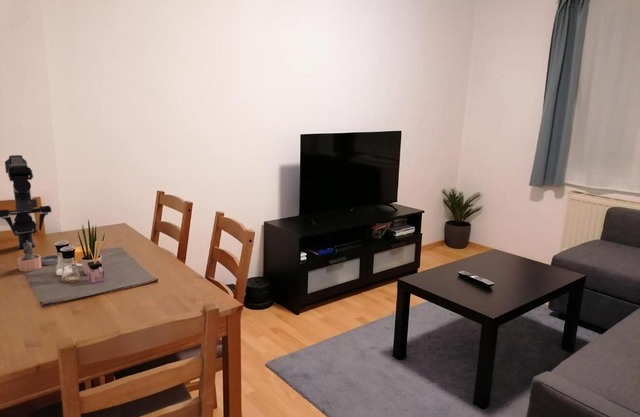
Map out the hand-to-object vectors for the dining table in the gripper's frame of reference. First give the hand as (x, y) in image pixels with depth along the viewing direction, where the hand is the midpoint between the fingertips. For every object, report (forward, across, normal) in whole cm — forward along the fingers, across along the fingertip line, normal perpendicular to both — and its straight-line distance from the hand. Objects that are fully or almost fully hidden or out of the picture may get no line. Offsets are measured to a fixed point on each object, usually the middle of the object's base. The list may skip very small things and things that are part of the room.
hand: (27, 232), depth 190 cm
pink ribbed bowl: (+15, -1, -4) cm, 15 cm away
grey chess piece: (+15, -1, -4) cm, 15 cm away
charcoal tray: (+14, +7, +1) cm, 15 cm away
